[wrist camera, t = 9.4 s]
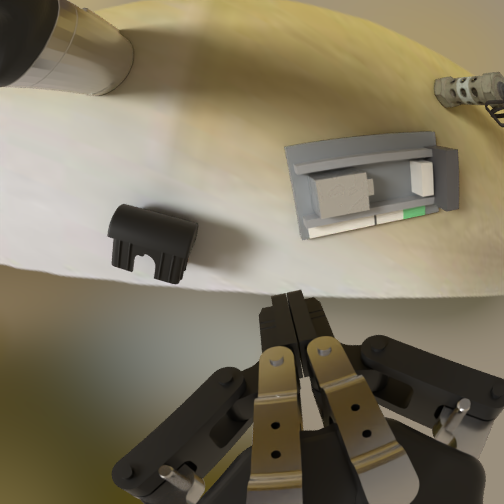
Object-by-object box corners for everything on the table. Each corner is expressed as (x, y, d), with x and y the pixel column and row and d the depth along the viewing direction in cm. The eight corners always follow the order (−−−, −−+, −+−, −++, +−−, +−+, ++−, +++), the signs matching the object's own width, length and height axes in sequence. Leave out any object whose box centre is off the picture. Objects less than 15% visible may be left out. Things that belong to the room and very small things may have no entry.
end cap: (202, 215, 35) (193, 234, 29) (190, 263, 38) (180, 289, 31) (131, 197, 34) (109, 211, 27) (124, 244, 36) (104, 266, 30)
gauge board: (284, 146, 32) (292, 149, 26) (429, 131, 30) (456, 134, 24) (300, 236, 36) (310, 256, 31) (434, 209, 35) (458, 222, 29)
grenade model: (432, 114, 29) (508, 119, 15) (433, 72, 26) (505, 62, 13) (460, 126, 29) (532, 138, 16) (461, 86, 27) (531, 86, 13)
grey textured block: (307, 175, 32) (315, 180, 28) (363, 166, 31) (377, 170, 28) (312, 209, 34) (321, 219, 30) (367, 199, 33) (380, 207, 29)
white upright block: (409, 160, 31) (421, 163, 28) (420, 159, 31) (432, 162, 28) (411, 191, 33) (422, 196, 30) (422, 190, 32) (433, 194, 30)
